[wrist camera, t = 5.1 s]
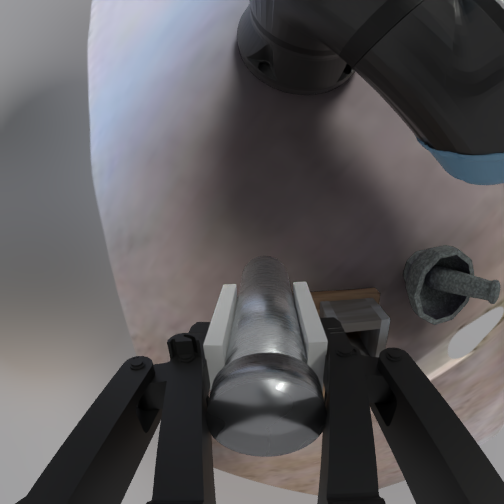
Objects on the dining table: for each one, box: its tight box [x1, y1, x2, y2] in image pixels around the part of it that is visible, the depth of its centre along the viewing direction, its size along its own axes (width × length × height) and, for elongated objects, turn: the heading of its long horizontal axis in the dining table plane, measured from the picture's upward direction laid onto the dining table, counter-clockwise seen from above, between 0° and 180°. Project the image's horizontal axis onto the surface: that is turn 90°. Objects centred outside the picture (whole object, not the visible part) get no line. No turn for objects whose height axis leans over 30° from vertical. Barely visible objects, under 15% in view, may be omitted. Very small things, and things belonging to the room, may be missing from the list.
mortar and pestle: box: [403, 245, 500, 325], centre depth 30 cm, size 11×9×12 cm
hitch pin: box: [206, 256, 327, 456], centre depth 15 cm, size 4×4×14 cm
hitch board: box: [292, 288, 390, 397], centre depth 36 cm, size 20×16×8 cm
